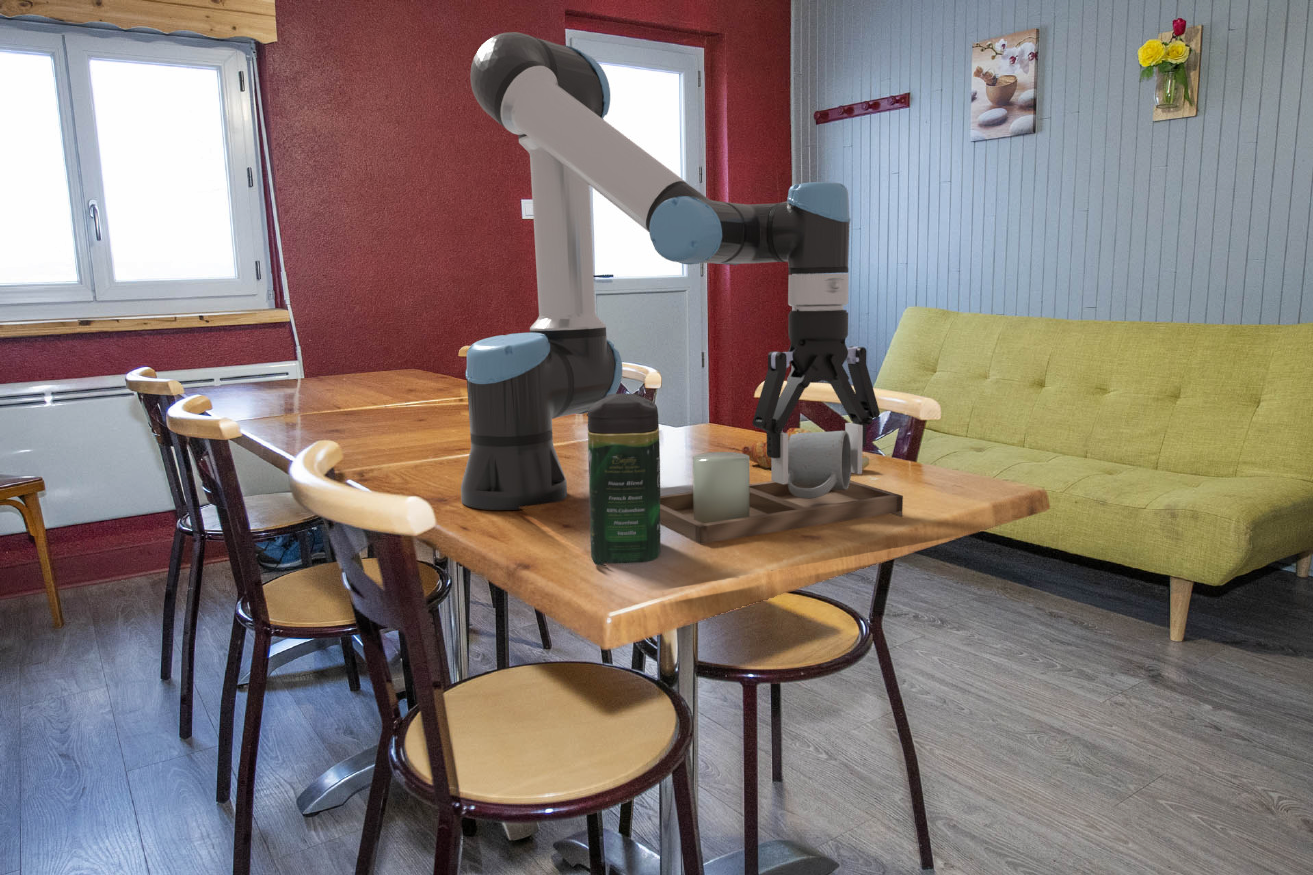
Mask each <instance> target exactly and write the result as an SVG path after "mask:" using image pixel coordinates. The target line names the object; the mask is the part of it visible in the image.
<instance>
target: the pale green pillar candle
mask: <svg viewBox="0 0 1313 875" xmlns="http://www.w3.org/2000/svg"><path fill="white" fill-rule="evenodd" d="M750 479H751V478H750V459H749V456H748V455H746V454H743V453H742V452H735V451H734V452H732V451H712V452H704V453H702V452H701V453H698V454H695V455H693V456H692V486H693V487H692V492H693V508H694V520H696V521H698V522H700V523H703V524H704V523H711V522H717V521H724V520H730V519H737V518H744V517H750V484H751V483H750Z"/></svg>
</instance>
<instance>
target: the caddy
mask: <svg viewBox="0 0 1313 875" xmlns="http://www.w3.org/2000/svg"><path fill="white" fill-rule="evenodd" d="M807 489H810V488H807ZM903 502H904V496H903V495H901V494H898V493H895V492H891V491H888V490H884V489H881V488H878V487H874V486H871V485H868V484H864V483H860V482H857V481H853V480H851V479H850V484H849V487H848V489H847V490H843V491H842V490H830V491H829V492H828V493H827V494H825V495H823V496H821V497H817V498H812V499H804V498H799V497H797V496H794V495H793V494H792V493H791V492H790V491H789V488H788V484H780V483H777V482H774V481H771V480H769V481H764V482H754V483H750V517H744V518H737V519H730V520H724V521H717V522H711V523H704V524H703V523H700V522H698V521H696V520H694V508H693V491H688V492H681V493H680V492H679V493H674V494H665V495H660V526H663V527H664V528H667V529H669V530H671V531H673V532H675V533H676V534H678V535H680V536H682V537H684V538H686V539H688V540H690V541H692V542H694V543H697V544H699V545H703V544H709V543H710V544H711V543H716V542H720V541H721V542H723V541H729V540H733V539H735V540H736V539H741V538H747V537H753V536H758V535H759V536H760V535H764V534H765V535H766V534H770V533H771V534H772V533H777V532H783V531H790V530H797V529H802V528H808V527H814V526H820V525H826V524H834V523H838V522H840V523H841V522H845V521H852V520H858V519H863V518H869V517H875V516H883V515H890V514H891V515H894V516H898V517H900V518H903V512H904V511H903V510H904V508H903V504H904V503H903Z"/></svg>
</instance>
